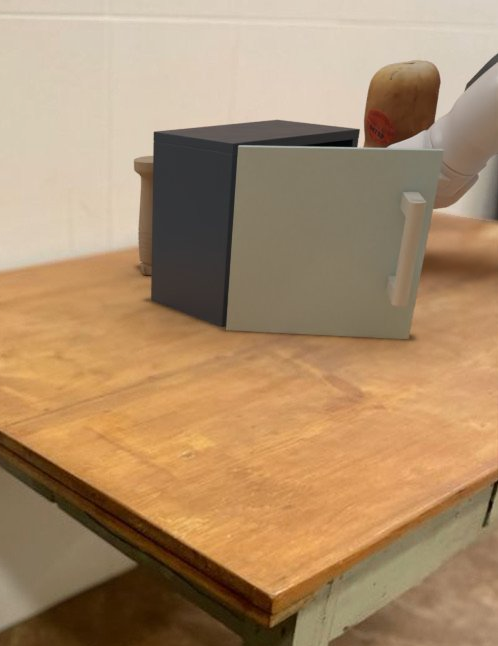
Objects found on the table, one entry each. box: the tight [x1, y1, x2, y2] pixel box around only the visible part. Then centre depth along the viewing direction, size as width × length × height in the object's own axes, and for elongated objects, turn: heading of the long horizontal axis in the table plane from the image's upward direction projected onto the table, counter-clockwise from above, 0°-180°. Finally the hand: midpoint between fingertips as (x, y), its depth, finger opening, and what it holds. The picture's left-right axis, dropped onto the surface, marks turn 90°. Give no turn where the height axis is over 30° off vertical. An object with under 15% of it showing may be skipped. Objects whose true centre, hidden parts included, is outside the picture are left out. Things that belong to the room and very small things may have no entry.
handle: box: [133, 155, 153, 276], centre depth 111 cm, size 5×6×15 cm
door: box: [225, 145, 444, 340], centre depth 84 cm, size 7×20×20 cm, turn 81°
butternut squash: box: [363, 59, 441, 148], centre depth 136 cm, size 14×13×25 cm
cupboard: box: [150, 119, 361, 328], centre depth 98 cm, size 13×20×20 cm, turn 127°
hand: (377, 223), depth 122 cm, fingers closed on onion, 5 cm apart
